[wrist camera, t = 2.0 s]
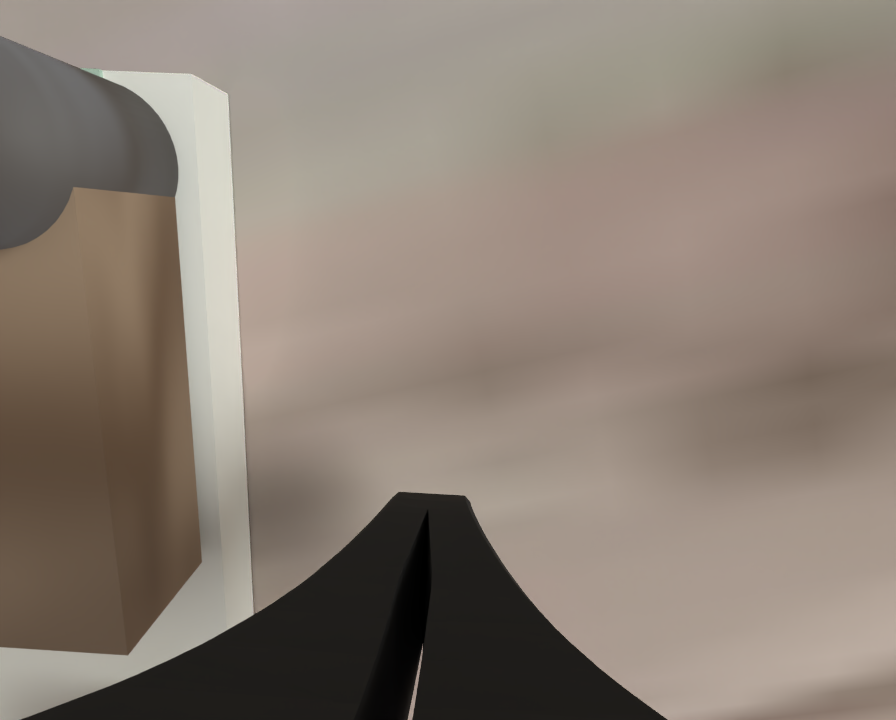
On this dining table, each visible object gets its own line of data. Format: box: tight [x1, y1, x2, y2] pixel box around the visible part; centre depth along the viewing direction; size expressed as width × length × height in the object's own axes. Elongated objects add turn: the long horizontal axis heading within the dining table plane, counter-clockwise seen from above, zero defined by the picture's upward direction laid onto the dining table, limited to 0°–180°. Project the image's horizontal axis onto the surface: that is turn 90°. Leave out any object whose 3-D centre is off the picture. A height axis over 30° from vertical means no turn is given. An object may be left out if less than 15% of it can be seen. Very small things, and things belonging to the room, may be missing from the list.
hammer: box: [0, 36, 202, 655], centre depth 9 cm, size 9×3×3 cm, turn 178°
